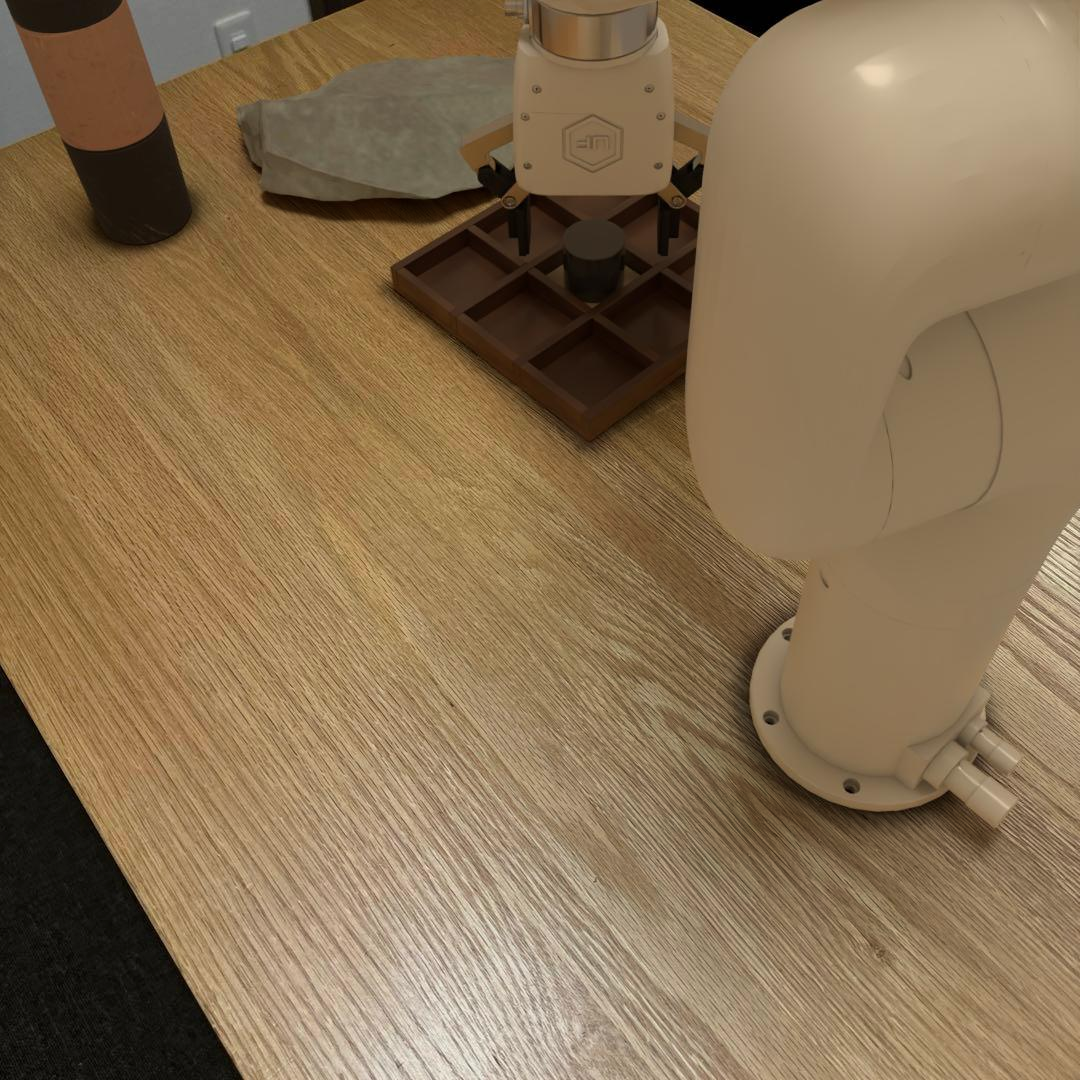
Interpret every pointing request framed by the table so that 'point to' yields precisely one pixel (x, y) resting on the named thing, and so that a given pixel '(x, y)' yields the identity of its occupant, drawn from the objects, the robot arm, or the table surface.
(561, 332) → the board
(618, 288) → the dark cylinder
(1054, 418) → the robot arm
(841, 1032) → the table surface
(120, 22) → the travel mug
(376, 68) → the rock
